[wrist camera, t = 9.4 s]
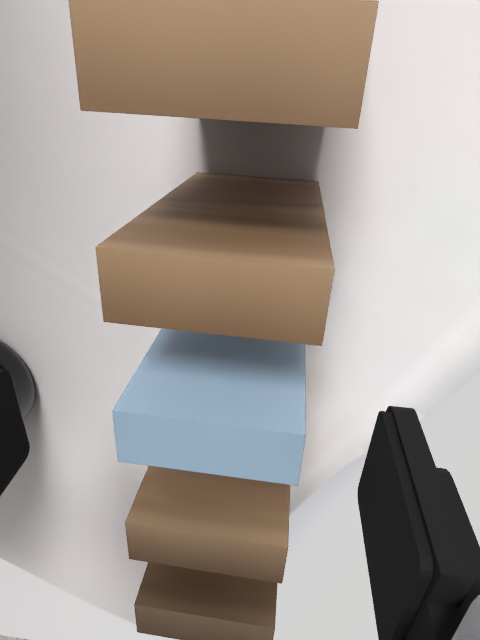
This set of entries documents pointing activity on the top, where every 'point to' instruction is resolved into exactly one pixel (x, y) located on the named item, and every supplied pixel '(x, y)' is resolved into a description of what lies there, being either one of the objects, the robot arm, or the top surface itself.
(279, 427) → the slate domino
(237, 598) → the walnut domino
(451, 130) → the top surface
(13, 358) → the supplement bottle
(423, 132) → the top surface
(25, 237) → the top surface
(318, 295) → the walnut domino
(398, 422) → the robot arm
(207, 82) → the walnut domino
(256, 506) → the walnut domino
